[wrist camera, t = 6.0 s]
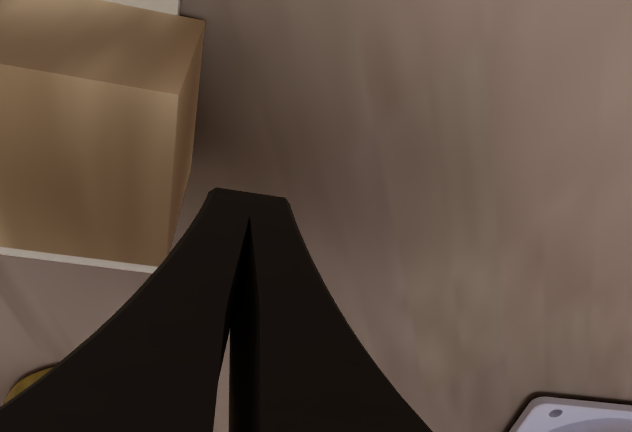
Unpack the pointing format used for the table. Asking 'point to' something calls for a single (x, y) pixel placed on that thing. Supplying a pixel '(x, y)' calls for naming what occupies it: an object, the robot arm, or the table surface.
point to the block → (95, 127)
